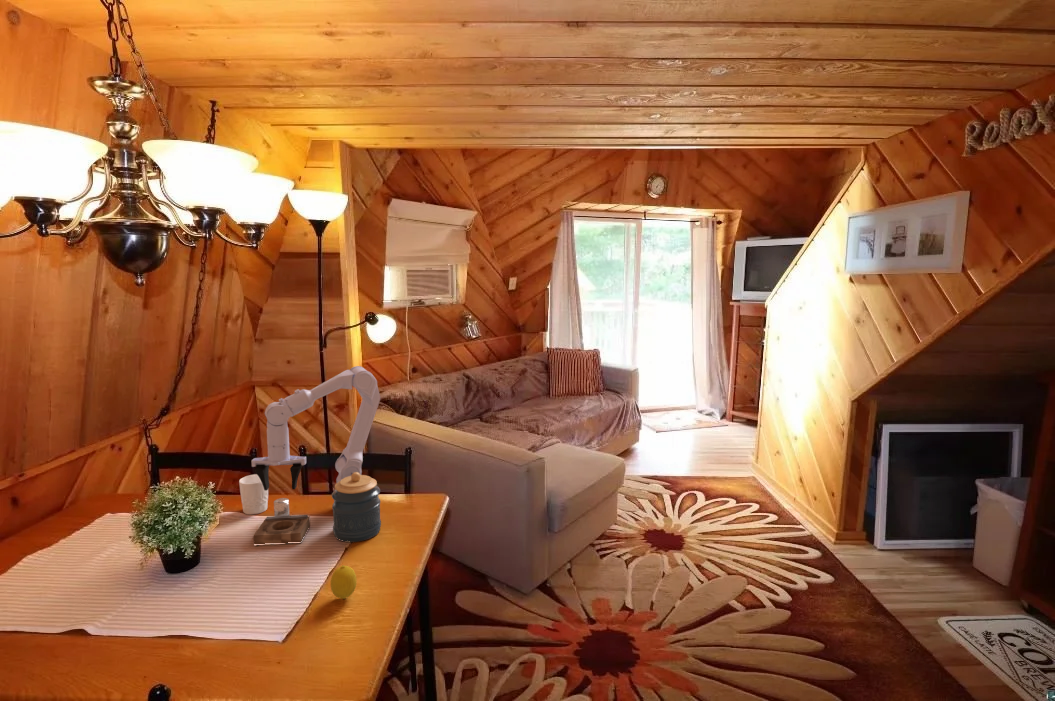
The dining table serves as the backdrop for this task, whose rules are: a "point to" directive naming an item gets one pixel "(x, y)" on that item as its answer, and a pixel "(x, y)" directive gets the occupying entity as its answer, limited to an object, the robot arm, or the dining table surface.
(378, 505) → the canister
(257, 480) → the white cup
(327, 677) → the dining table surface
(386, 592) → the dining table surface
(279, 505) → the bushing
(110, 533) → the dining table surface
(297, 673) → the dining table surface
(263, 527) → the block
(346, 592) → the lemon
